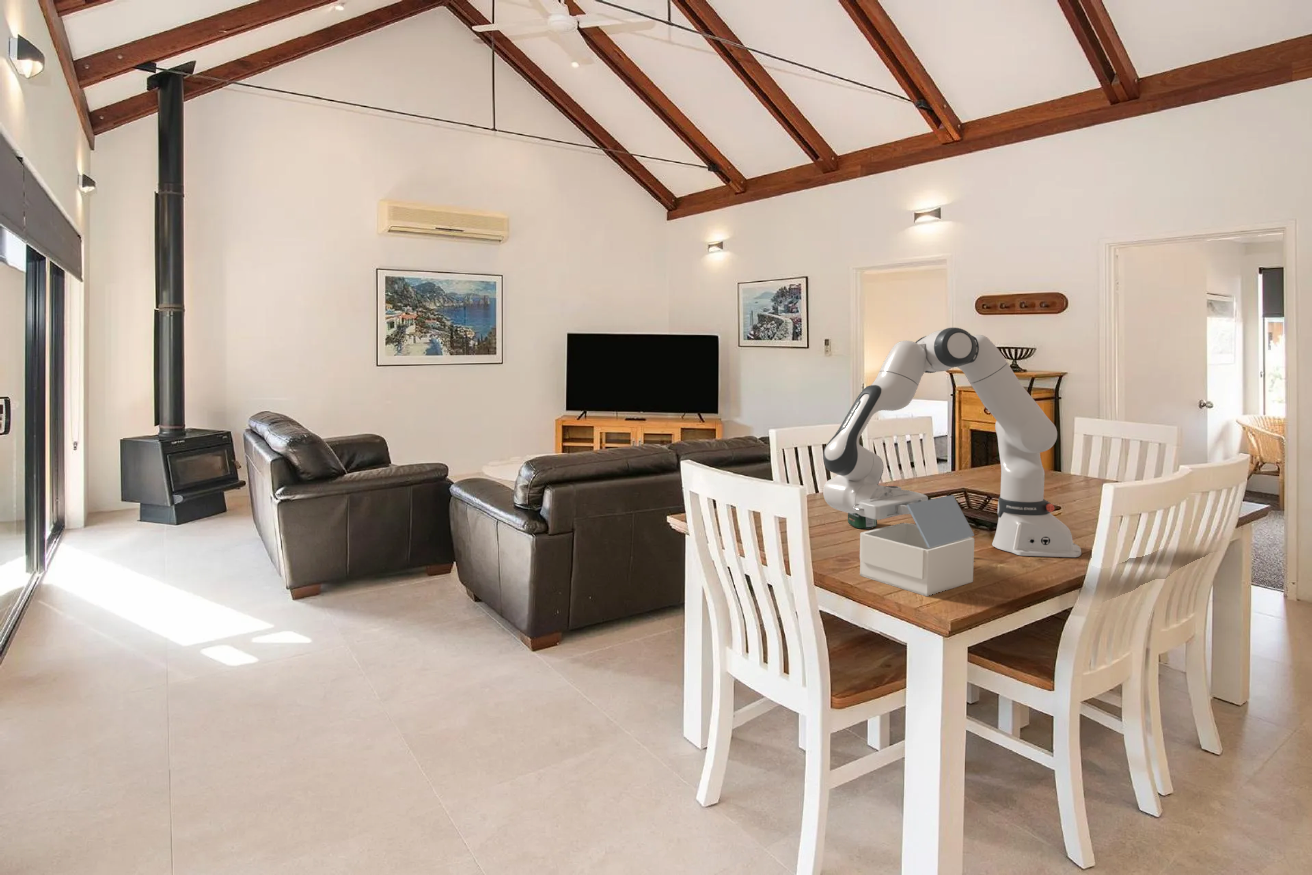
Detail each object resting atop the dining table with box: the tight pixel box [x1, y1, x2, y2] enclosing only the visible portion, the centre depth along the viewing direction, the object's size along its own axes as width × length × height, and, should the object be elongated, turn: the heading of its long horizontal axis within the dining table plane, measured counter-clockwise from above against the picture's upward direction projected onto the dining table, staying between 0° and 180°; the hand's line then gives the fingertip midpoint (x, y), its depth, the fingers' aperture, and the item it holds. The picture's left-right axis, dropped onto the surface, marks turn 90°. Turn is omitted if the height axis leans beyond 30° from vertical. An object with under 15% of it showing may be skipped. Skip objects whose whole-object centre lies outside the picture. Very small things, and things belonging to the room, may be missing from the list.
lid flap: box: [907, 494, 975, 548], centre depth 185 cm, size 11×17×1 cm
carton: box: [859, 522, 975, 597], centre depth 192 cm, size 21×19×11 cm
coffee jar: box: [847, 513, 878, 530], centre depth 246 cm, size 10×8×19 cm
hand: (920, 511), depth 190 cm, fingers closed
